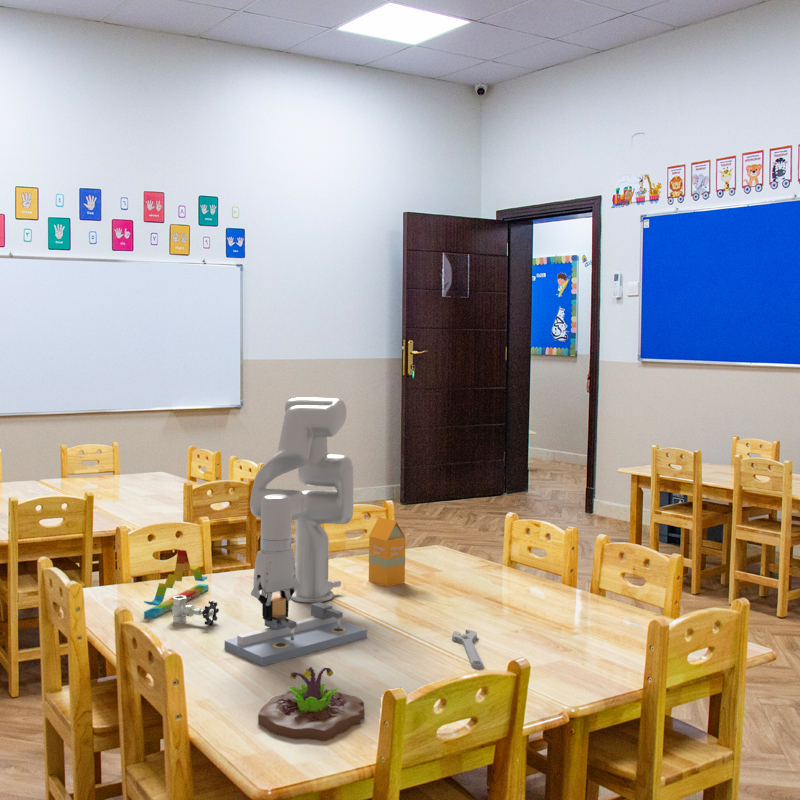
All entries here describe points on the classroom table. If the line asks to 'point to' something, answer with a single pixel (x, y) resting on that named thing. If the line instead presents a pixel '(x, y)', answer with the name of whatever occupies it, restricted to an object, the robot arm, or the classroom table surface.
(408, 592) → the classroom table surface
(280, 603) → the divider leg
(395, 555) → the orange juice
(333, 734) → the plant
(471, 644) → the adjustable wrench
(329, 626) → the bolt hole plate
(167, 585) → the chart
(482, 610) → the classroom table surface
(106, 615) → the classroom table surface
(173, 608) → the valve
